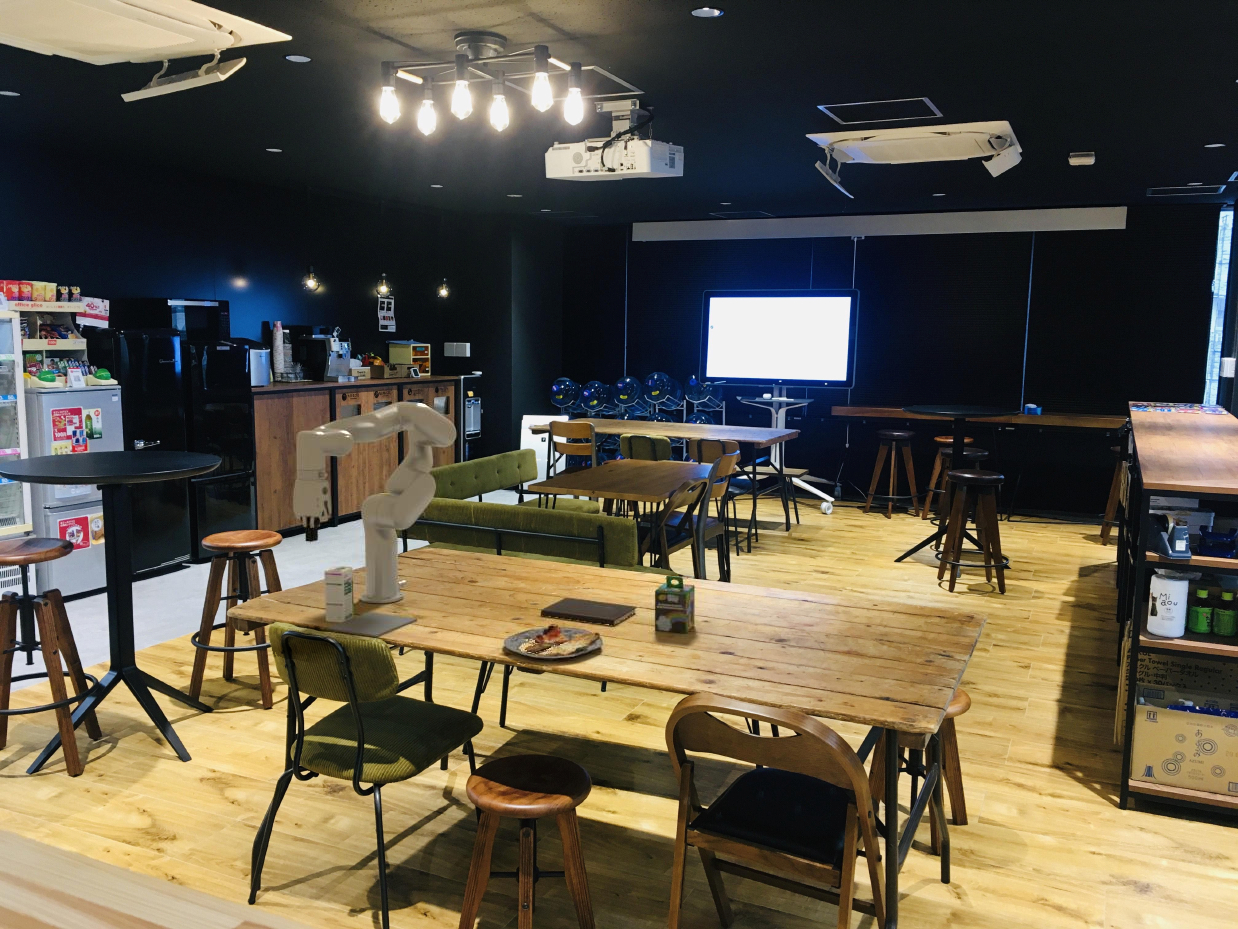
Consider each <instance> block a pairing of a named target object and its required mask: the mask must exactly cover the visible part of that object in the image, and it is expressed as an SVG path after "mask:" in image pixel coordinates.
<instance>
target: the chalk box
mask: <svg viewBox="0 0 1238 929" xmlns="http://www.w3.org/2000/svg"><path fill="white" fill-rule="evenodd" d="M665 581H666V582H664V583H663V584H661V585H659V586H658V588H657V589H656V590H654V631H659V632H668V633H669V632H670V633H676V634H683V635H686V634H688V632H689V631H690V630H691V629H692V628H693V627H694V626H695V622H696V621H695V614H696V613H695V612H696V611H695V607H696V606H695V600H696V599H695V592H696V590H695V585H694V584H687V583H686V584H684V578H683V577H682V576H677V575H676V576H675V575H673V576H672V575H666V578H665ZM672 581H677V582H678V583H672Z"/></svg>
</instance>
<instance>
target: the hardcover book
mask: <svg viewBox="0 0 1238 929" xmlns="http://www.w3.org/2000/svg"><path fill="white" fill-rule="evenodd" d="M637 608H638V607H637V606H633V605H626V604H625V605H624V604H617V603H609V602H601V601H595V600H589V599H588V600H587V599H580V598H573V597H572V598H571V597H565V598H563V599H561V600H559V601H556V602H553V603H552V604H550V605H547V606H545V607H544V608H542V609H540V616H541V615H543V616H542V617H545V616H551V617H550V618H552V617H558V618H557V619H559V618H564V619H563V620H566V619H571V620H570V621H573V620H579V621H578V622H580V621H586V622H585V623H588V622H592V623H591V624H595V623H601V624H600V625H602V624H609V625H614V624H616V623H617V624H619V623H620V622H619V621H621V620H622V621H624V620H625V619H624V618H626V617H627V616H629V615H631V614H632V613H634V612H635V613H636V609H637ZM635 613H634V614H635ZM632 615H633V614H632ZM632 615H631V616H632ZM629 617H630V616H629ZM627 618H628V617H627ZM627 618H626V619H627ZM623 619H624V620H623ZM622 621H621V622H622ZM618 622H619V623H618ZM617 624H616V625H617ZM609 625H608V626H609ZM614 626H615V625H614Z"/></svg>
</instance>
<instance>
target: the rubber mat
mask: <svg viewBox="0 0 1238 929" xmlns="http://www.w3.org/2000/svg"><path fill="white" fill-rule="evenodd" d="M415 622H418V618H415V617H410V616H409V617H407V616H402V615H395V614H389V613H382V612H381V613H380V612H374V611H369V612H366V613H364V614H361V615H358V616H354V617H353V618H351V619H350V620H347V621H344V622H341V623H339V622H338V623H336V624H334V625H331V626H329V627H327V630H330V631H335V632H341V633H347V634H355V635H362V636H366V637H373V638H379V637H380V636H382V635H385V634H388V633H391V632H392V631H395V630H398V629H400V628H403V627H405V626H407V625H409V624H412V623H415Z"/></svg>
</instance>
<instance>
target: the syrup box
mask: <svg viewBox="0 0 1238 929" xmlns="http://www.w3.org/2000/svg"><path fill="white" fill-rule="evenodd" d="M353 570H354V569H353V567H350V566H344V565H343V566H333V567H332V568H329V569H326V570H324V571H323V573H324V574H323V575H324V599H325V600H324V601H325V603H324V604H325V621H326V622H329V623H338V624H339V623H341V622H344V621H347V620H350V619H352V618H355V611H354V608H355V604H354V572H353Z"/></svg>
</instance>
